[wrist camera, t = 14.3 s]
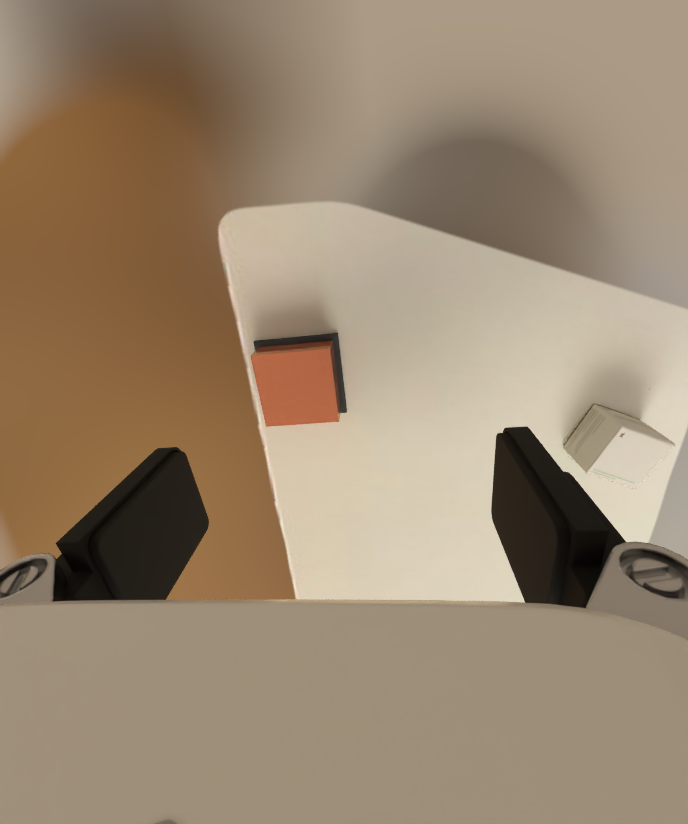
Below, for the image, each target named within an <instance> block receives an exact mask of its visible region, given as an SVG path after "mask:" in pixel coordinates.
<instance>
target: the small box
mask: <svg viewBox="0 0 688 824" xmlns="http://www.w3.org/2000/svg"><path fill="white" fill-rule="evenodd" d="M674 446H675V444H674V443H673V442H672V441H670V440H669V439H667V438H666V437H665V436H663V435H662V434H660V433H659V432H657V431H656V430H654V429H653V428H651V427H650V426H648V425H647V424H645V423H644V422H642V421H641V420H638V419H636V418H633V417H630V416H627V415H625V414H622V413H619V412H616V411H613V410H610V409H608V408H605V407H602V406H599V405H593V406H592V408H591V409H590V410H589V412H588V413H587V414H586V416H585V417H584V419H583V420H582V421H581V423H580V424H579V426H578V427H577V428H576V430H575V431H574V433H573V434H572V435H571V437H570V438H569V439H568V441H567V442H566V444H565V445H564V447H563V448H564V449H565V450H566V451H567V453H568V454H569V455H570V456H571V457H572V458H573V459H574V460H575V461H576V462H577V463H578V464H579V465H580V467H581V468H582V469H583V470H584V471H585V472H586V473H587V474H590V475H593V476H596V477H599V478H602V479H605V480H608V481H611V482H614V483H617V484H620V485H623V486H626V487H629V488H632V489H637V488H638V487H639V486H640V484H641V483H642V482H643V481H644V480H645V479H646V478H647V477H648V476H649V474H650V473H651V472H652V471H653V470H654V469H655V467H656V466H657V465H658V464H659V463H660V462H661V461H662V460H663V458H664V457H665V456H666V455H667V454H668V453H669V452H670V451H671V449H672V448H673V447H674Z"/></svg>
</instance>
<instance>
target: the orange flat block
mask: <svg viewBox="0 0 688 824" xmlns="http://www.w3.org/2000/svg"><path fill="white" fill-rule="evenodd" d="M251 360H252V364H253V369H254V373H255V378H256V382H257V387H258V391H259V396H260V401H261V405H262V410H263V414H264V419H265V423H266V426H281V425H296V424H311V423H326V422H339V418H340V413H341V404H340V395H339V387H338V379H337V371H336V363H335V355H334V346H333V341H321V342H310V343H300V344H289V345H278V346H267V347H259V348H258V349H257V350H256V351H255V352H254V353H253V354H252V355H251Z"/></svg>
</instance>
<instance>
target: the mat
mask: <svg viewBox="0 0 688 824" xmlns="http://www.w3.org/2000/svg"><path fill="white" fill-rule="evenodd" d="M321 341H333V346H334V355H335V363H336V371H337V379H338V387H339V395H340V404H341V413H346V412H347V409H346V400H345V392H344V383H343V375H342V366H341V357H340V349H339V340H338V333H335V334H324V335H314V336H303V337H293V338H282V339H271V340H261V341H254V346H255V351H256V350H257V349H258V348H259V347H267V346H278V345H289V344H300V343H310V342H321Z"/></svg>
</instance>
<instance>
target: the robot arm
mask: <svg viewBox="0 0 688 824" xmlns="http://www.w3.org/2000/svg"><path fill="white" fill-rule="evenodd" d="M492 519H493V523H494V525H495V528H496V530H497V533H498V535H499V538H500V540H501V543H502V545H503V548H504V550H505V553H506V555H507V558H508V560H509V563H510V565H511V568H512V570H513V573H514V575H515V578H516V580H517V583H518V585H519V588H520V590H521V593H522V595H523V598H524V600H525V603H519V602H497V601H443V600H166V598H167V596H168V595H169V593H170V591H171V590H172V588H173V586H174V585H175V583H176V581H177V580H178V578H179V576H180V575H181V573H182V571H183V570H184V568H185V566H186V565H187V563H188V561H189V559H190V558H191V556H192V555H193V553H194V551H195V549H196V548H197V546H198V544H199V543H200V541H201V539H202V538H203V536H204V534H205V533H206V531H207V529H208V524H209V521H208V516H207V513H206V511H205V508H204V505H203V502H202V499H201V496H200V493H199V491H198V487H197V485H196V482H195V479H194V476H193V473H192V471H191V468H190V465H189V462H188V459H187V456H186V454H185V453H184V452H182V451H181V450H180V449H179V448H177V447H172V448H158V449H156V450H155V451H154V452H153V453H152V454H151V455H149V456H148V457H147V458H146V459H145V460H144V461H143V462H142V463H141V464H140V465H139V466H138V467H137V468H136V469H135V470H134V471H132V472H131V473H130V474H129V475H128V476H127V477H126V478H125V479H124V480H123V481H122V482H121V483H120V484H119V485H118V486H116V487H115V488H114V489H113V490H112V491H111V492H110V493H109V494H108V495H107V496H106V497H105V498H104V499H103V500H102V501H100V502H99V503H98V504H97V505H96V506H95V507H94V508H93V509H92V510H91V511H90V512H89V513H88V514H87V515H85V516H84V517H83V518H82V519H81V520H80V521H79V522H78V523H77V524H76V525H75V526H74V527H73V528H72V529H70V530H69V531H68V532H67V533H66V534H65V535H64V536H63V537H62V538H61V539H60V540H59V541H58V542H57V543H56V544H57V546H58V548H59V550H60V551H61V553H62V554H61V555H60V556H59V557H58V558H57V559H56V558H55V557H54V556H53V555H51V554H50V553H39V554H33V555H30V556H27V557H24V558H21V559H19V560H17V561H15V562H13V563H11V564H9V565H8V566H6V567H5V568H3V569H1V570H0V824H688V560H687V559H686V558H684V557H683V556H681V555H680V554H677V553H675V552H673V551H670V550H669V549H666V548H664V547H660V546H657V545H653V544H650V543H642V542H626V541H625V540H624V539H623V538H622V536H621V535H620V534H619V533H618V531H617V530H616V529H615V528H614V526H613V525H612V524H611V523H610V522H609V520H608V519H607V518H606V517H605V515H604V514H603V513H602V512H601V510H600V509H599V508H598V507H597V506H596V504H595V503H594V502H593V501H592V499H591V498H590V497H589V496H588V494H587V493H586V492H585V491H584V490H583V488H582V487H581V486H580V485H579V483H578V482H577V481H576V480H575V478H574V477H573V476H572V475H571V474H570V473H568V472H563V471H562V470H561V468H560V467H559V466H558V465H557V463H556V462H555V461H554V459H553V458H552V457H551V456H550V454H549V453H548V452H547V451H546V449H545V448H544V447H543V445H542V444H541V443H540V442H539V440H538V439H537V438H536V437H535V435H534V434H533V433H532V431H531V430H530V429H529V428H528V427H512V428H505V429H504V431H503V433H498V434H497V436H496V449H495V464H494V479H493V494H492Z"/></svg>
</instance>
